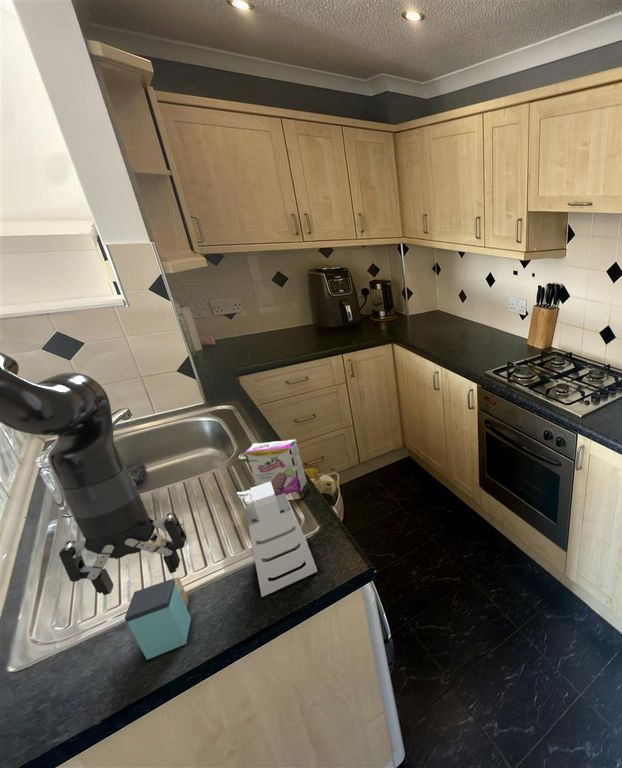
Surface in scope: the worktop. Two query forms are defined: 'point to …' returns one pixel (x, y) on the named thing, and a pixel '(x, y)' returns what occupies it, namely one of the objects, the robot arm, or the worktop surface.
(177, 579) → the prop block
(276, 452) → the candy bar box
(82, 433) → the robot arm
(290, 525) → the grater
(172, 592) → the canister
